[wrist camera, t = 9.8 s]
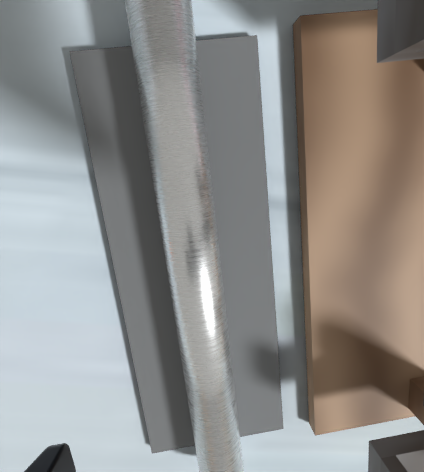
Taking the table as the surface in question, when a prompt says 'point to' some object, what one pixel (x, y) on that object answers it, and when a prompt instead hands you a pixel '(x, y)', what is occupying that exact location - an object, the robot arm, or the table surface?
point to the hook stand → (363, 221)
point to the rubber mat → (150, 238)
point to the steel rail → (187, 220)
